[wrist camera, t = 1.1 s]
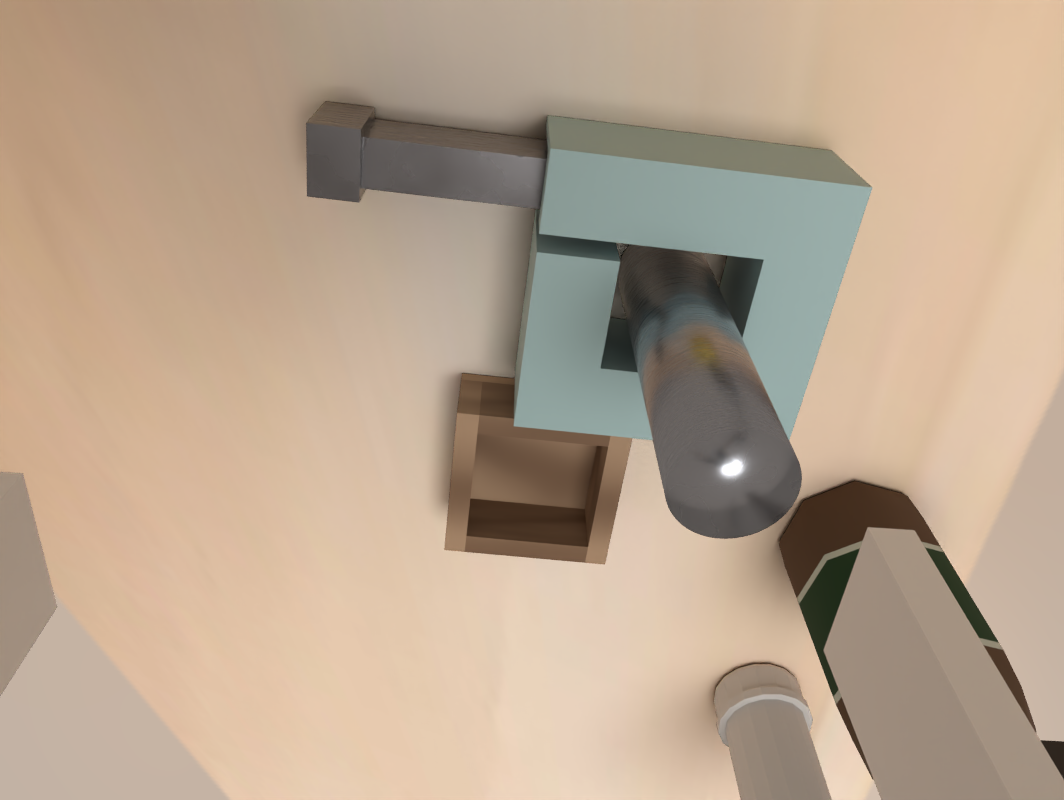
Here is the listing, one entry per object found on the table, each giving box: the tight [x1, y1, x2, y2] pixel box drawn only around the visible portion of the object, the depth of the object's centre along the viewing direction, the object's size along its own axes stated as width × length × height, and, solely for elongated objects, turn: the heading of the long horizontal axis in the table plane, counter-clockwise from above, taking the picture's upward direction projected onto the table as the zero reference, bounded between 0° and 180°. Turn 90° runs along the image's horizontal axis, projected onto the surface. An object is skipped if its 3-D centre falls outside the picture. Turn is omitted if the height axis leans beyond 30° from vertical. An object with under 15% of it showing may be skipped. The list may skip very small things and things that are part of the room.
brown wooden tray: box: [444, 373, 632, 564], centre depth 43 cm, size 8×8×4 cm
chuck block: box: [514, 115, 872, 440], centre depth 37 cm, size 12×12×5 cm
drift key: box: [306, 102, 548, 209], centre depth 35 cm, size 3×10×4 cm, turn 83°
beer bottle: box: [779, 481, 1036, 780], centre depth 37 cm, size 8×8×24 cm
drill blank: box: [617, 244, 802, 539], centre depth 33 cm, size 4×4×16 cm
